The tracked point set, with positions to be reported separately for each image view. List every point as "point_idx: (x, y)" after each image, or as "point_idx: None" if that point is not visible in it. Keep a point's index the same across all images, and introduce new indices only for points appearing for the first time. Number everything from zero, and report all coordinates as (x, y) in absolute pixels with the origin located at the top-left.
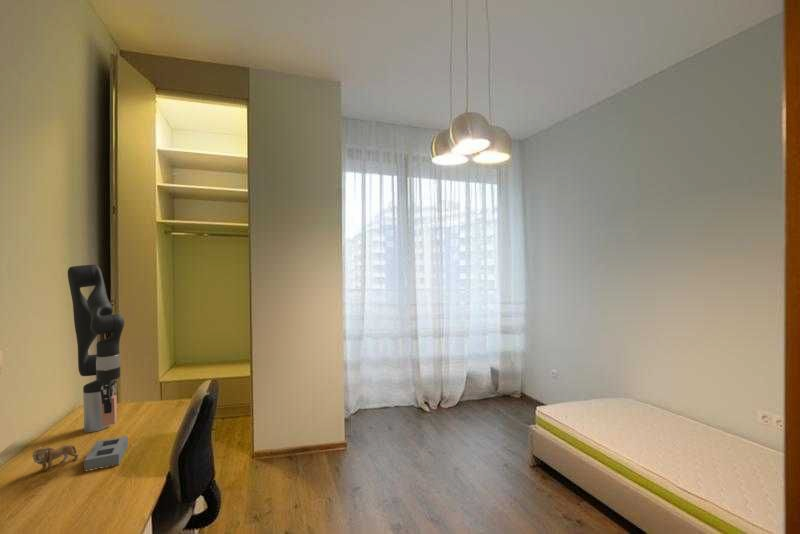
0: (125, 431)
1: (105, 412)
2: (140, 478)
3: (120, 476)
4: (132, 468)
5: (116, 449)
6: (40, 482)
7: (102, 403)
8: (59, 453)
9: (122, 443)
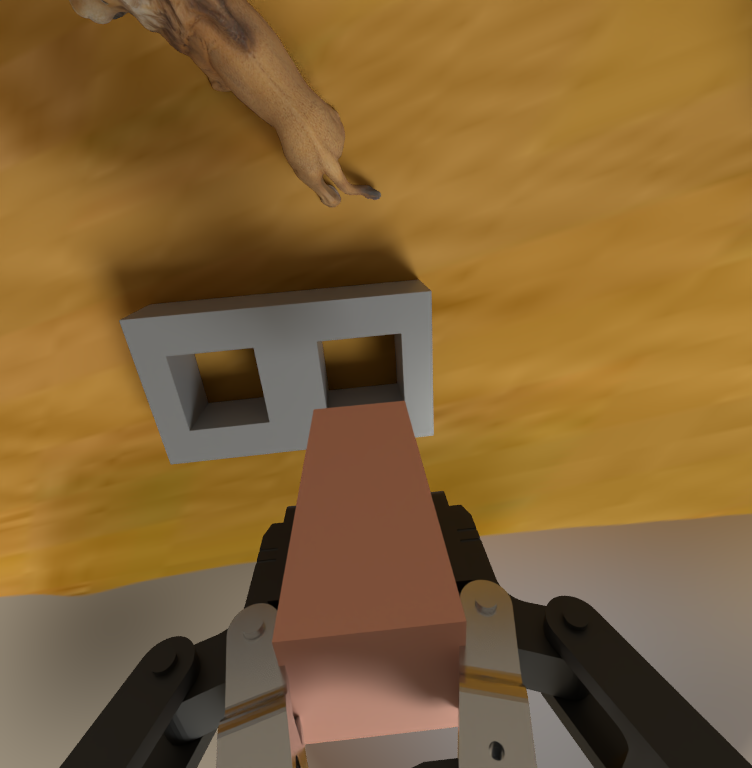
0: (656, 341)
1: (287, 518)
2: (37, 538)
3: (67, 470)
4: (140, 491)
5: (239, 437)
6: (50, 97)
7: (149, 654)
8: (252, 109)
9: None
